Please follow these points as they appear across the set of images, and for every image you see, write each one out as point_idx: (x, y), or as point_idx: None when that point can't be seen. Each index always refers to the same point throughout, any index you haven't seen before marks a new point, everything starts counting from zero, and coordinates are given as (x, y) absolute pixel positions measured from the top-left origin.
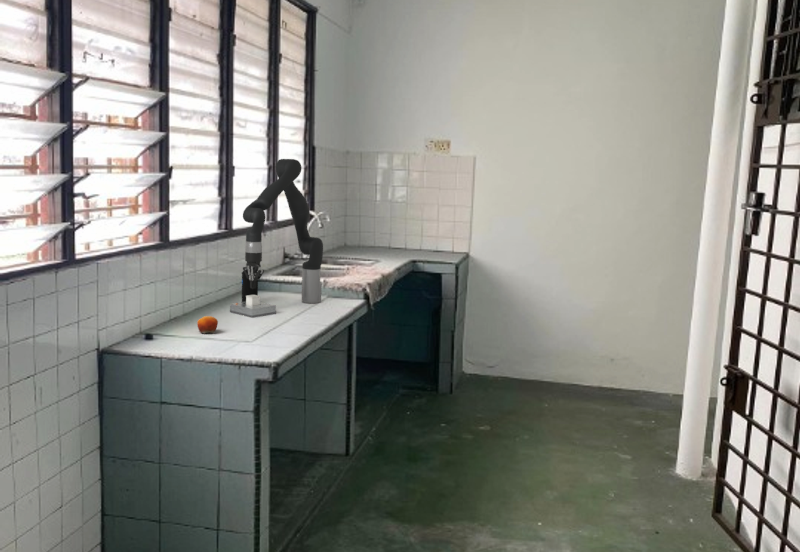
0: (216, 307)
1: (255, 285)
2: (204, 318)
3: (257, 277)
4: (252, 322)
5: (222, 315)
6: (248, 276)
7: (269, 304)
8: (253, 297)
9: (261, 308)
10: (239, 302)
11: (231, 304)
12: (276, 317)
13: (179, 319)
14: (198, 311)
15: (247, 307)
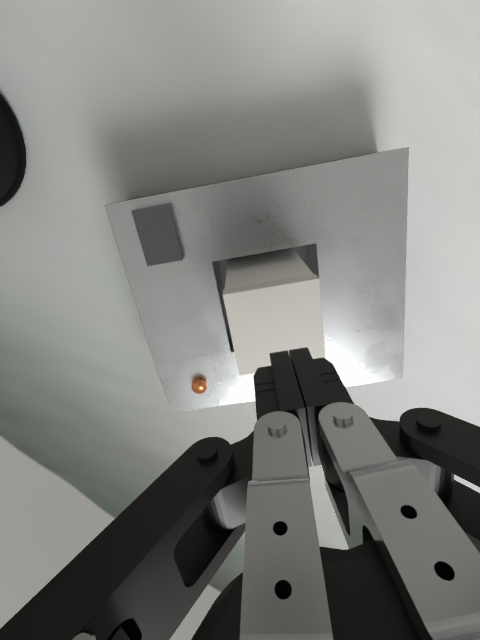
0: (17, 382)
1: (332, 379)
2: None
3: (452, 476)
4: (470, 398)
5: (238, 439)
6: (243, 528)
7: (344, 182)
8: (323, 347)
9: (401, 302)
10: (154, 346)
11: (187, 409)
12: (474, 219)
13: (225, 575)
14: (98, 483)
15: (341, 379)
